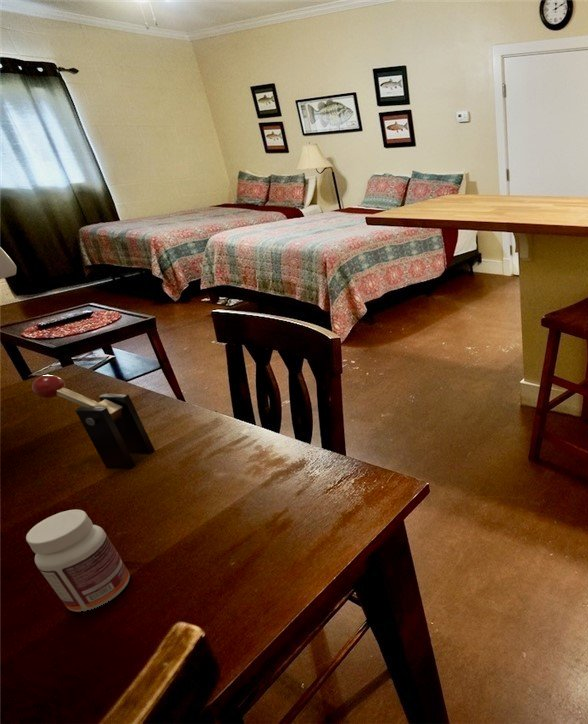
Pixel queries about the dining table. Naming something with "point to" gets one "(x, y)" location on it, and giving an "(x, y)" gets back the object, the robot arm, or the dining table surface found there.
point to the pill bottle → (77, 560)
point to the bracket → (116, 432)
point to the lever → (71, 394)
